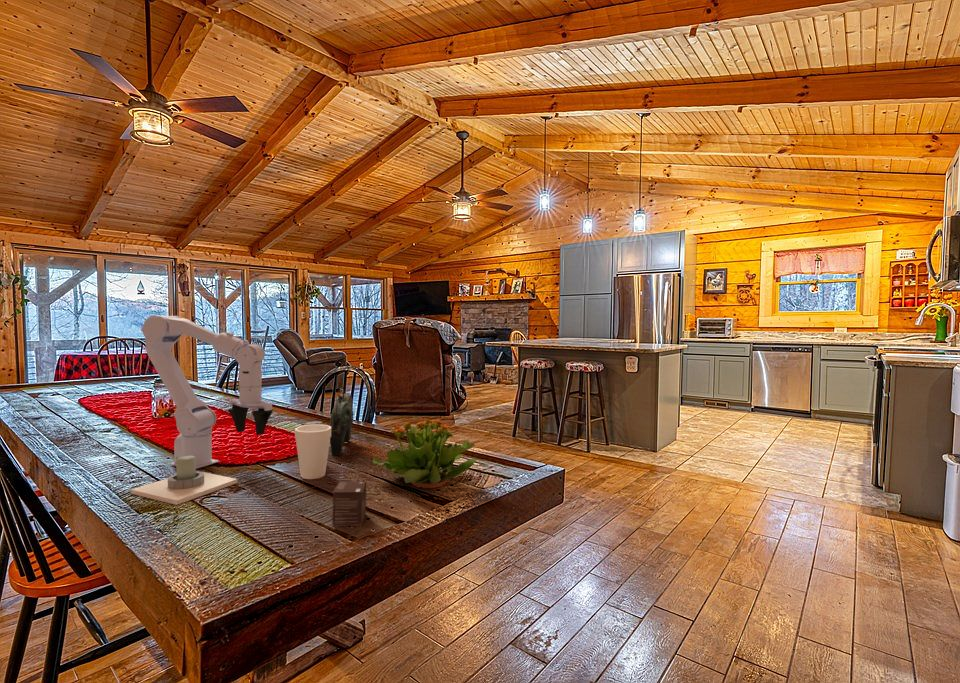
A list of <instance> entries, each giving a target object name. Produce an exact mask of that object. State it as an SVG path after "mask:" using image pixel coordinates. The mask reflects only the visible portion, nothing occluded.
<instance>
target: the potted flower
mask: <svg viewBox="0 0 960 683" xmlns="http://www.w3.org/2000/svg"><path fill="white" fill-rule="evenodd" d="M434 429H435V431H433V430H434ZM392 434H393V435H394V436H396V438H397V440H396V442H398V443H399V445H396V447H397V448H395V449H394V450H392V449H390V450H388V451H387V452H385V455H386V457H387V459H385V461H383V462H380V460H379V459H378V457H374V458H373V459H372V463H373V465H378V466H381V467H385V469H387V470H390V472H392V473H394V474H398V475H403V478H404V483H406V484H408V483H412V484H413V485H412V484H411V485H412V486H414V485H415V487H417V488H420V487H422V489H437V488H441V487H443V485H444V486H445V485H446V484H447V482H448V480H450V479H453V478H456V477H458V476H460V475H462V474H463V473H465V472H466V471H468V470H469V469H470V468H471V467H472V466H474V463H476V461H477V460H476V459H475V458H471V459H468V460H465V461H463V462H462V463H459V464H458V465H457V466H455V465H454V463H455V462H456V461H457V460H458V459H460V458H462V457H463V456H464V454H462V453H464V452H465V451H468V450H470V449H473V448H474V447H475V443H472V442H470V441H469V440H464V441H462V444H460V443H457V442H455V443H454V444H453V443H448V444H446V443H447V441H448V439H449V438H450V437H451V438H452V437H453V438H454V435H453V433H452V430H449V426H448V425H447V424H444V422H443V421H442V420H440V419H437V420H431V419H427V418H425V419H424V420H419V421H418V422H417V423H416V425H415V426H413V425H412V424H411V422H408V421H407V422H404V424H403V427H402V426H401V427H400V426H394V427H393V430H392ZM405 436H406V441H407V448H408V449H407V448H406V447H405V446H404V444H403V443H402V440H401V438H405ZM445 445H446V446H445ZM453 465H454V466H453ZM446 473H447V474H446ZM436 487H437V488H436Z"/></svg>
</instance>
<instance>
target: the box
mask: <svg viewBox="0 0 960 683" xmlns="http://www.w3.org/2000/svg"><path fill="white" fill-rule="evenodd" d="M332 494H333V495H332V496H333V497H332V526H333V527H341V526H362V525H363V522H364V519H365V517H366V512H367V510H366V509H367V482H366V481H339V482H338V483H337V484H336V487H335V488H334V489H333V491H332Z"/></svg>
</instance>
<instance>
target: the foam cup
mask: <svg viewBox="0 0 960 683" xmlns="http://www.w3.org/2000/svg"><path fill="white" fill-rule="evenodd" d="M322 424H323V423H322ZM322 424H312V425H304V424H303V425H299V426H297V427H295V428H294V439H295V442H296V451H297V458H298V465H299V473H300V478H301V477H302V479H306V480H314V479H320V478H323V477H325V476H326V470H327V465H328V464H327V463H328V456H329V450H330V445H331V444H330V437H331V426H330V425H328V424H323V425H322Z"/></svg>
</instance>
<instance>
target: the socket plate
mask: <svg viewBox="0 0 960 683" xmlns="http://www.w3.org/2000/svg"><path fill="white" fill-rule="evenodd" d="M235 484H238V478H235V477H234V478H233V477H229V476H225V475H220V474H214V473H209V472H205V471H199V470H196V477H195V478H192V479H186V480H177V473H175V474H171V475H170V476H168V477H167V478H165V479H162V480H158V481H154V482H151V483H148V484H145V485H141V486H139V487H136V488H131V489H130V494H131V495H136V496H139V497H144V498H148V499H152V500H156V501H159V502H163V503H168V504H172V505H175V506H177V505H180V504H183V503H185V502H188V501H191V500H194V499H196V498H200V497H202V496H203V497H204V496H205V495H208V494H211V493H213V492H216V491H219V490H222V489H224V488H228V487H230V486H233V485H235Z"/></svg>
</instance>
